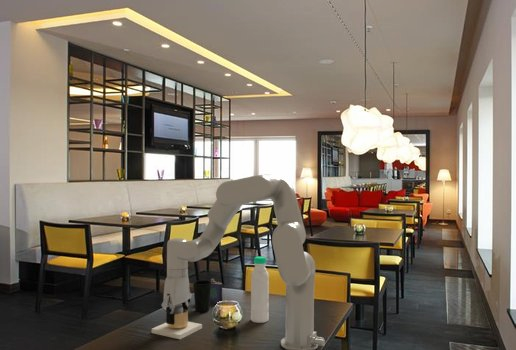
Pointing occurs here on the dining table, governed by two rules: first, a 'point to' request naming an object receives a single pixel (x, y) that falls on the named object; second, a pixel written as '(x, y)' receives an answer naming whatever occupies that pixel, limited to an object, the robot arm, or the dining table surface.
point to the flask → (215, 292)
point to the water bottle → (259, 291)
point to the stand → (177, 332)
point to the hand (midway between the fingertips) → (177, 320)
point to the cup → (202, 295)
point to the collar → (180, 320)
